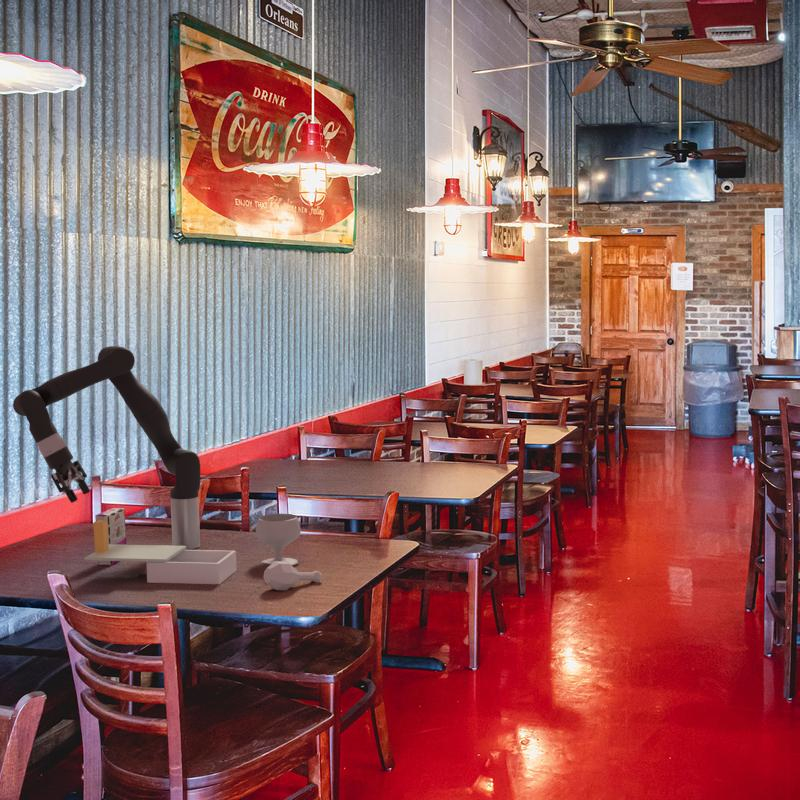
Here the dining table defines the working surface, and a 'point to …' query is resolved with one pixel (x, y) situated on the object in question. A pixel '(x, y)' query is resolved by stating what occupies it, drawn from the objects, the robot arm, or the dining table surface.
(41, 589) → the dining table surface
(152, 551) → the lid
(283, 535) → the chalice
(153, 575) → the tub
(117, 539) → the candy bar box
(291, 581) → the chicken leg
